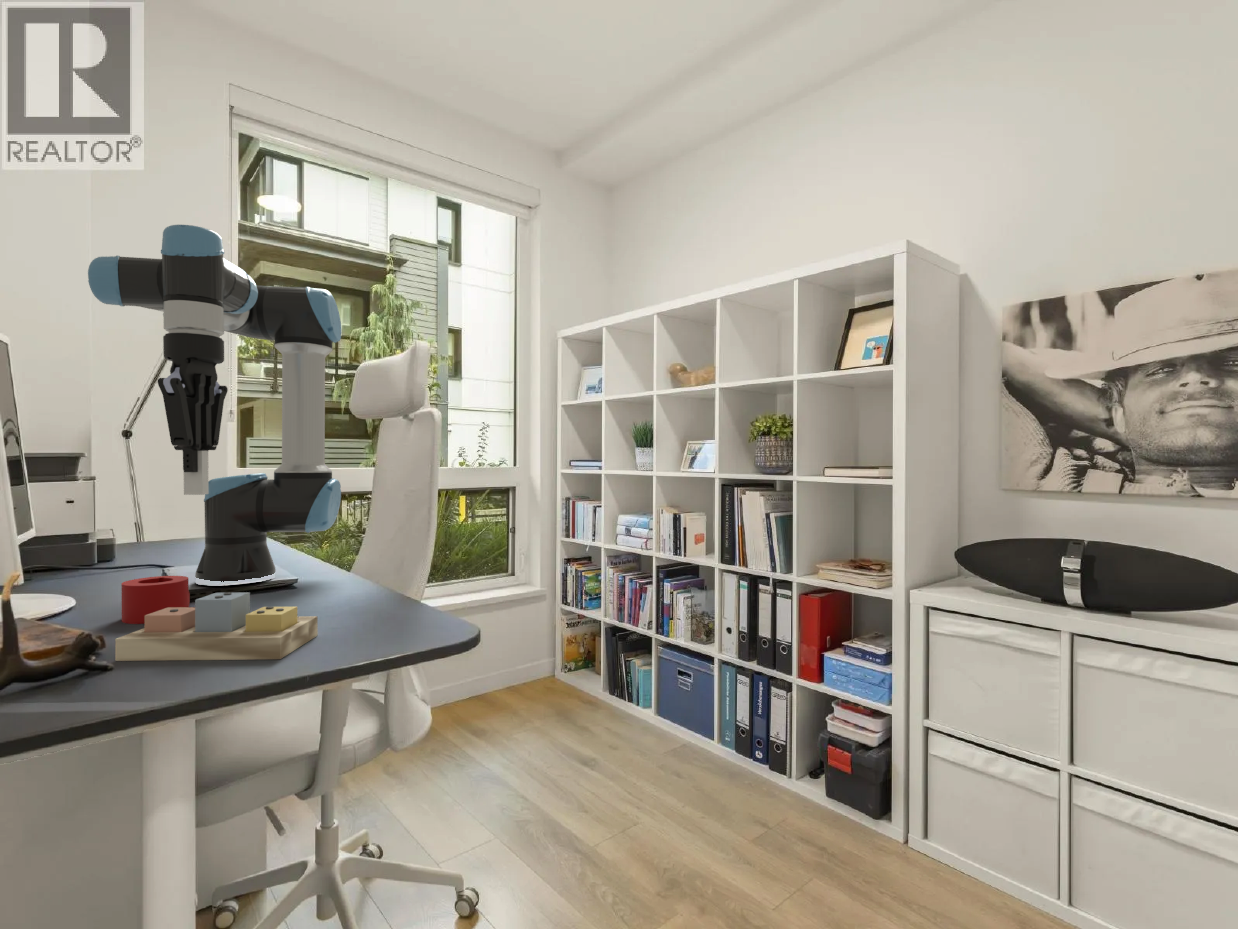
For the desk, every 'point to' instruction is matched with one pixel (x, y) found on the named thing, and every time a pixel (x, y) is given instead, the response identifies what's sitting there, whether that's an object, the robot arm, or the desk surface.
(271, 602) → the desk surface
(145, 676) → the desk surface
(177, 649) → the button board
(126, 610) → the red oval ring
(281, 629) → the tile three
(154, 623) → the tile one
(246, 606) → the tile two
